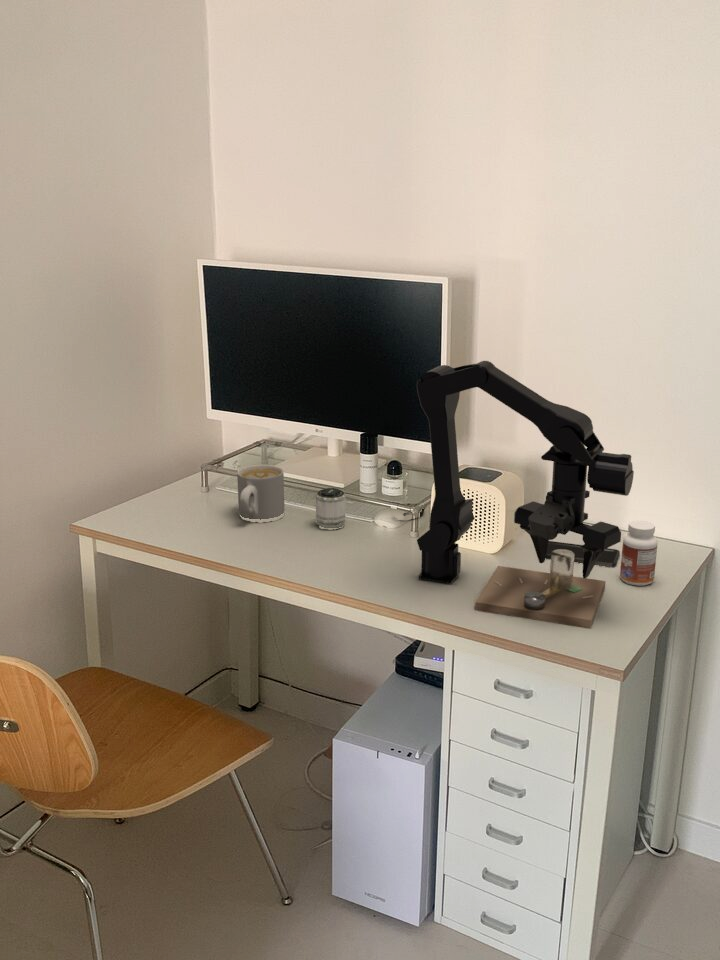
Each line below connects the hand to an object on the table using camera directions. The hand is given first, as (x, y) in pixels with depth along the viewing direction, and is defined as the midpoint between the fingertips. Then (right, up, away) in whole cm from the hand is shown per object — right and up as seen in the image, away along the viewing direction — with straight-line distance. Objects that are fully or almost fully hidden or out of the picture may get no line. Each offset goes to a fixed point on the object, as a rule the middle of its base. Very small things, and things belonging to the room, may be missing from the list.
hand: (563, 570), depth 180 cm
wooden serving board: (-3, -5, +2) cm, 7 cm away
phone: (+7, 0, +21) cm, 23 cm away
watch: (-25, +7, +42) cm, 50 cm away
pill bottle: (+16, -3, +10) cm, 19 cm away
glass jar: (-42, +6, +37) cm, 56 cm away
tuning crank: (-2, -4, -1) cm, 5 cm away
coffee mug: (-58, +7, +42) cm, 72 cm away
